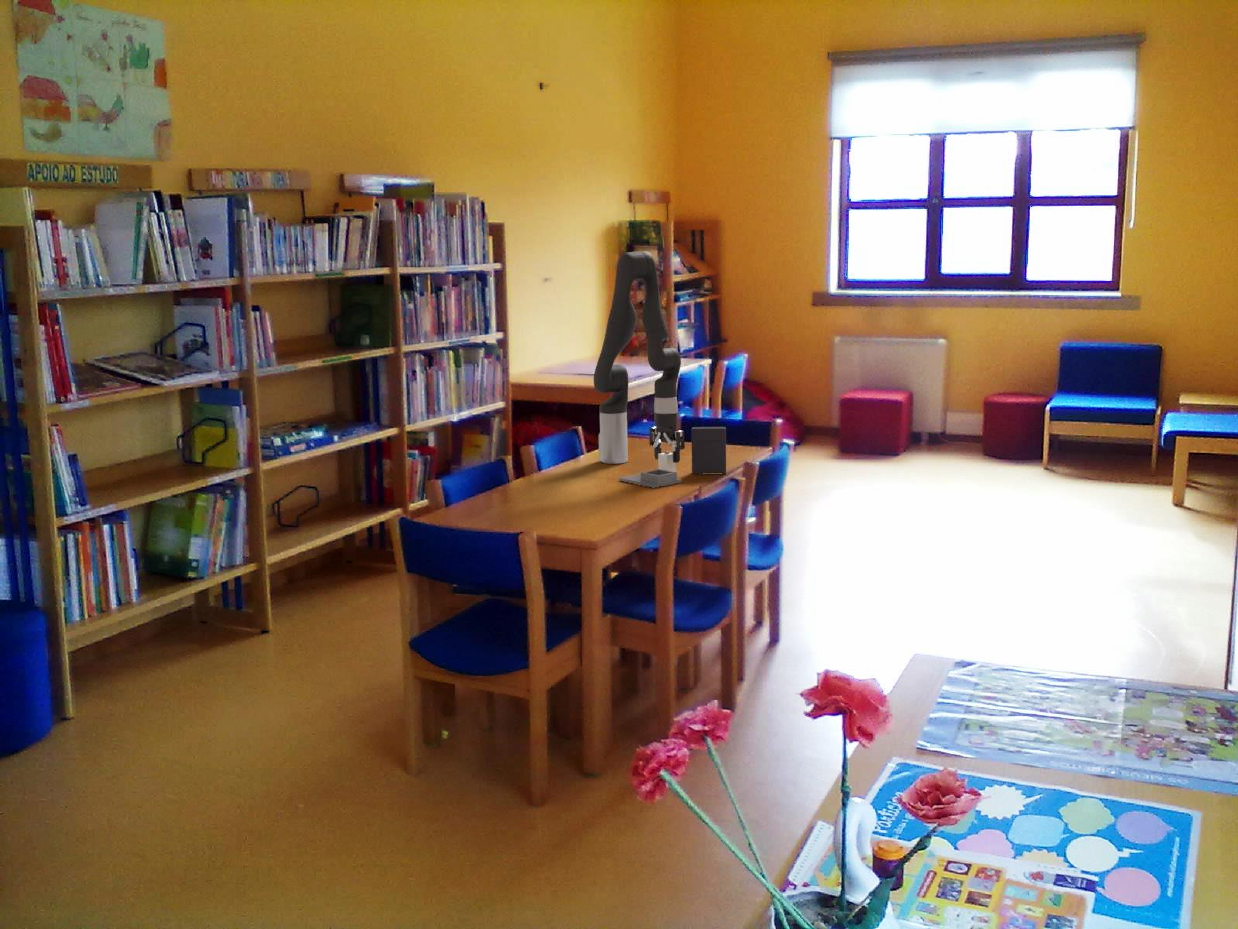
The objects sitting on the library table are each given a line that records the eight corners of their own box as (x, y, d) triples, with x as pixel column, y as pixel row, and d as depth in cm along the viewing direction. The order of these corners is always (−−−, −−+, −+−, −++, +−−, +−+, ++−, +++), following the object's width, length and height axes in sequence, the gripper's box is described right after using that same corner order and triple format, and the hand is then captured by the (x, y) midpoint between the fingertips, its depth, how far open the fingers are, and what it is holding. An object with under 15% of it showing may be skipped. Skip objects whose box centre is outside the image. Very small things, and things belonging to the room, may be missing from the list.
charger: (658, 475, 387) (658, 451, 386) (667, 473, 390) (667, 449, 388) (667, 476, 384) (666, 452, 383) (676, 474, 387) (675, 451, 385)
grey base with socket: (619, 481, 379) (618, 470, 378) (647, 475, 387) (647, 464, 386) (653, 488, 367) (652, 477, 366) (681, 482, 375) (681, 471, 374)
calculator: (726, 471, 389) (725, 426, 387) (726, 474, 385) (725, 428, 382) (692, 472, 391) (691, 426, 388) (691, 474, 386) (691, 428, 383)
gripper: (642, 410, 386) (643, 460, 389) (672, 414, 375) (673, 465, 378) (659, 407, 390) (661, 457, 393) (689, 411, 380) (690, 461, 383)
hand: (667, 460), depth 386 cm, fingers open, 8 cm apart
